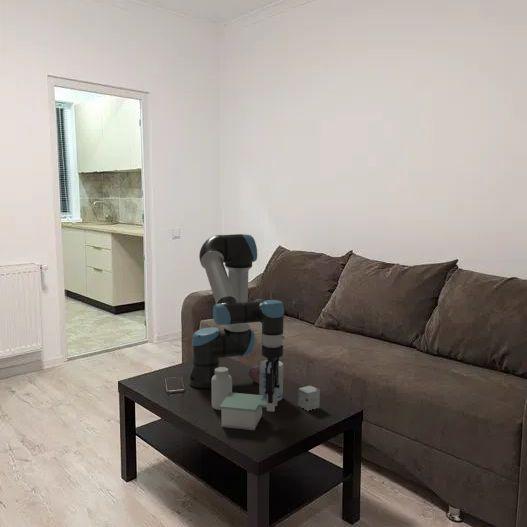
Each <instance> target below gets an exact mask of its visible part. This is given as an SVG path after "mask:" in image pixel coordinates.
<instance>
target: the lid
mask: <svg viewBox="0 0 527 527" xmlns="http://www.w3.org/2000/svg"><path fill="white" fill-rule="evenodd" d="M274 393H275V388H274ZM263 398H264V395H259V394H252V393H241V392H240V393H239V392H232V393H231V392H230V393H229V394H228V396H227V397H226V398H225V400H224V401H223V402H222V404H221V405H220V409H230V410H241V411H251V412H256V410H257V409H258V407H262V408H267V401H264V400H263Z"/></svg>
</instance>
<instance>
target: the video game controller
mask: <svg viewBox="0 0 527 527" xmlns="http://www.w3.org/2000/svg"><path fill="white" fill-rule="evenodd" d="M259 374H260V366H258V365H254V366H252V367H250V370H249V371H248V376H249V378H250V380H252V381H253V382H254V383H256V384H258V385H259Z"/></svg>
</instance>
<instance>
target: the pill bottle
mask: <svg viewBox="0 0 527 527" xmlns="http://www.w3.org/2000/svg"><path fill="white" fill-rule="evenodd" d="M211 384H212V388H211V407H212V409H213V410H217V411H221V409H220V405H221V404H222V402H223V401H224V400H225V398H226V397H227V396H228V394H229V393H230V392H231V393H233V378H232V375H230V374H229V368H228V367H225V366H220V367H218V368H216V369H215V375H214V376H213V377H212V380H211Z"/></svg>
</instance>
